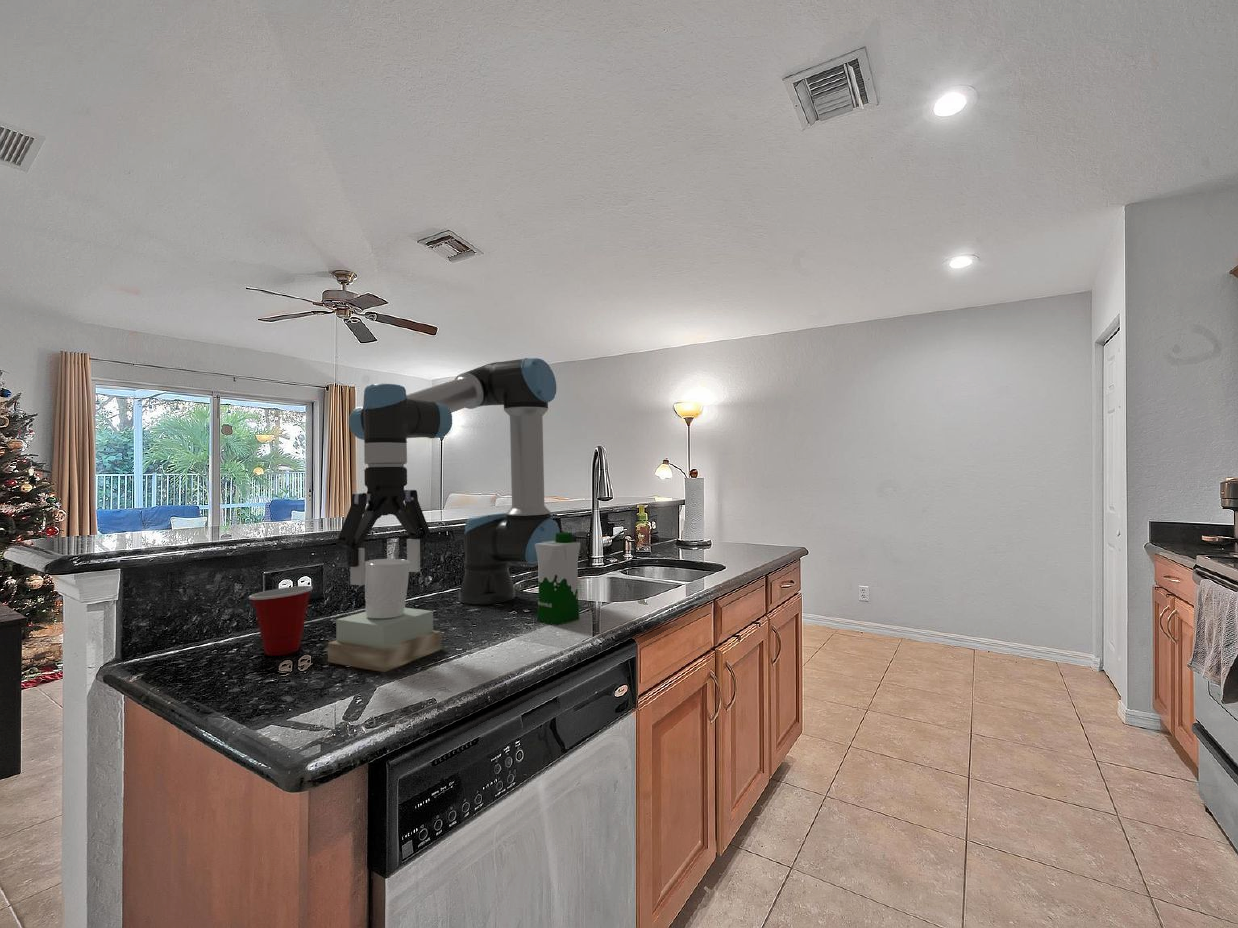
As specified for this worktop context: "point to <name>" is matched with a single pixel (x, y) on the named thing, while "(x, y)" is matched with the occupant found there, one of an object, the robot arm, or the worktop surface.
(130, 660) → the worktop surface
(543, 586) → the milk carton
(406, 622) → the tower top
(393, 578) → the white cup
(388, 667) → the tower base
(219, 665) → the worktop surface
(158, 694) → the worktop surface
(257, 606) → the plastic cup
